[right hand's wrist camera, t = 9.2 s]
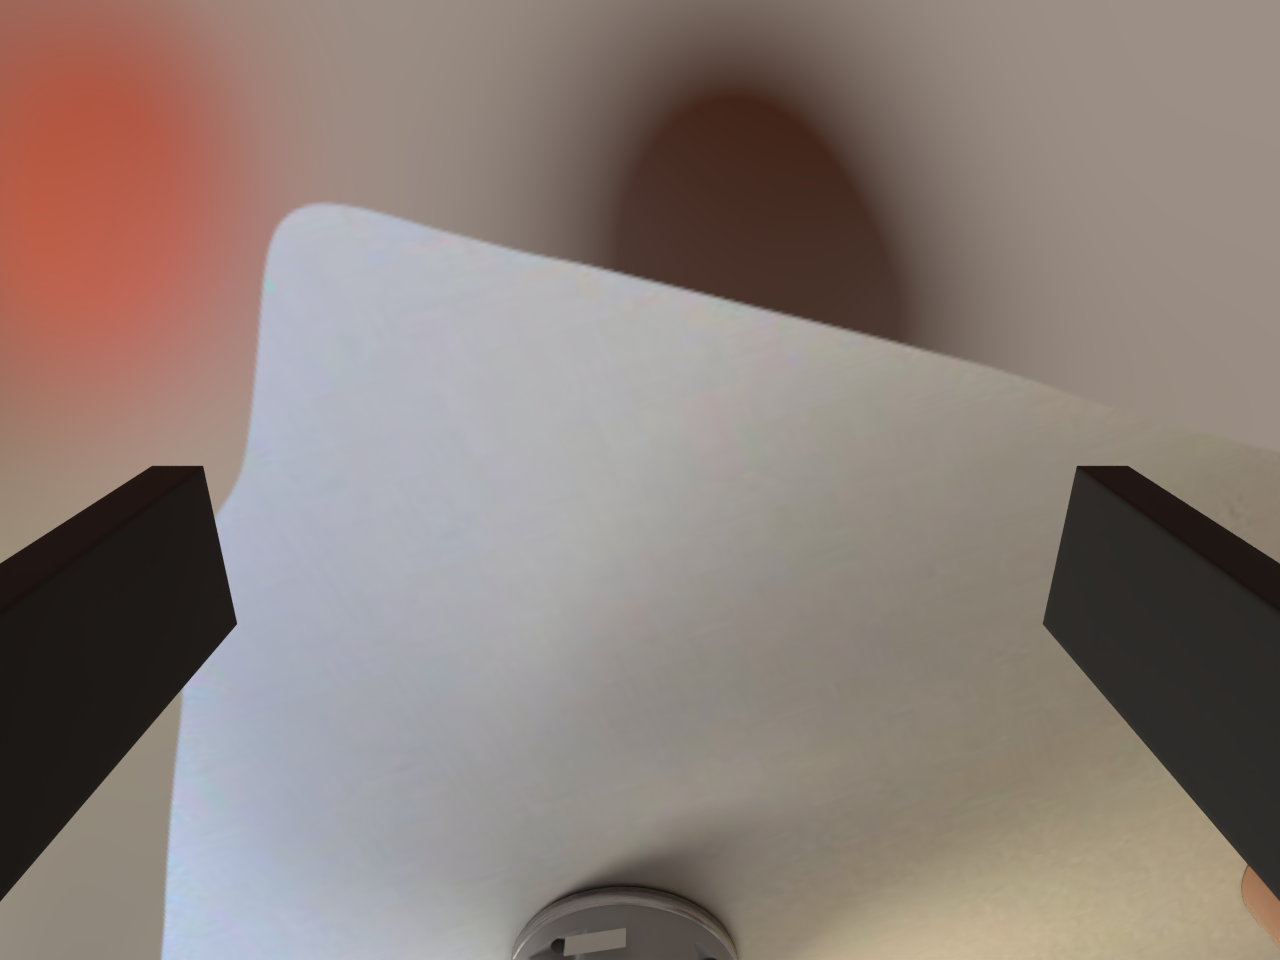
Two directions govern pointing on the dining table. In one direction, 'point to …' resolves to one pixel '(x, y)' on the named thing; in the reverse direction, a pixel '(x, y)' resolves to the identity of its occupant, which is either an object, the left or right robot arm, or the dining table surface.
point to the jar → (1262, 904)
